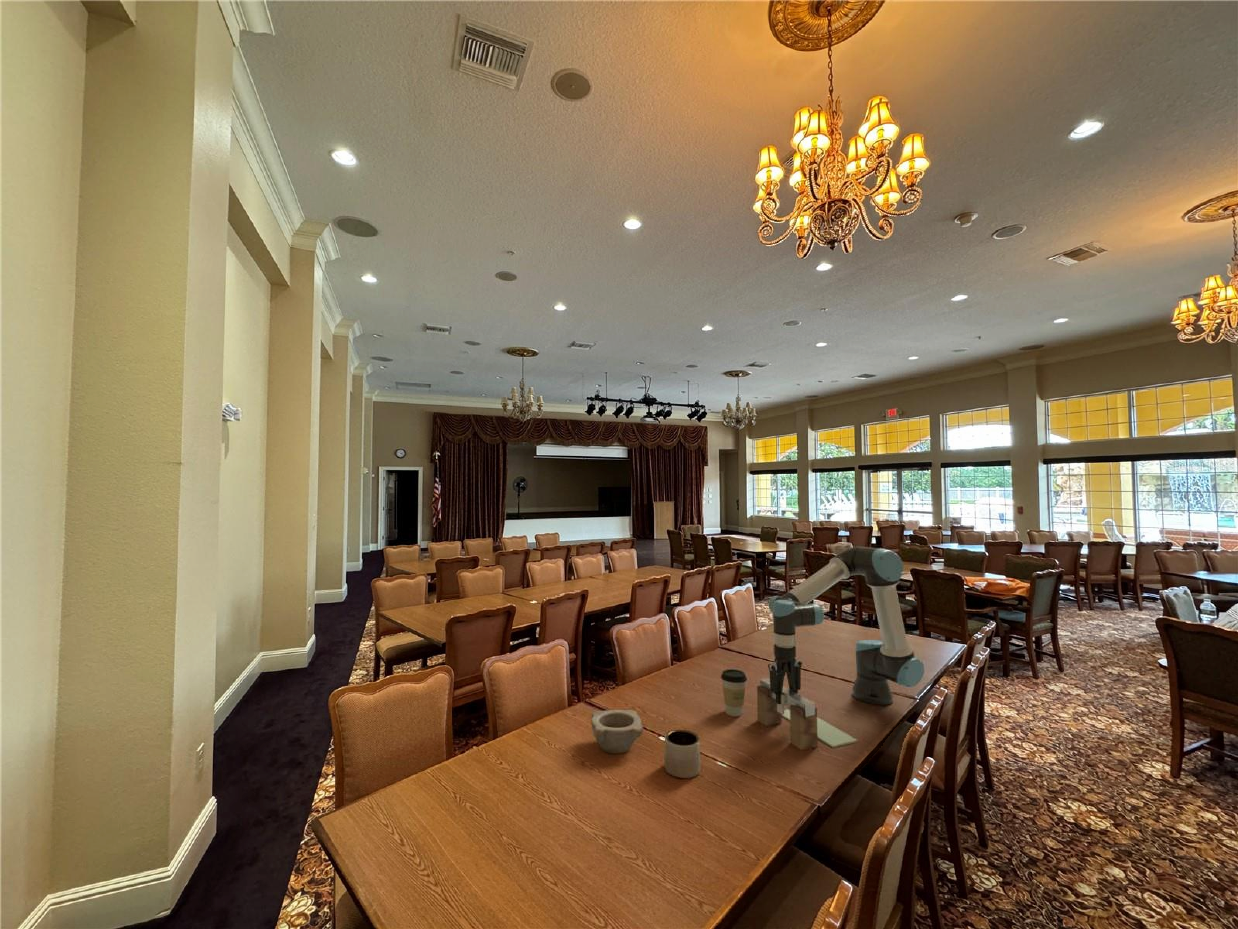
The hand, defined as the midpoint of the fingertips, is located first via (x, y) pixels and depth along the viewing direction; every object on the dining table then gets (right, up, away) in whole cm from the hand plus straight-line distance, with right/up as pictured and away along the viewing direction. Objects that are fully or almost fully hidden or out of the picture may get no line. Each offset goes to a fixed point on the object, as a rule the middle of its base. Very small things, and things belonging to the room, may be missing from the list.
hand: (786, 711), depth 174 cm
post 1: (-4, -8, +8) cm, 11 cm away
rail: (0, +3, 0) cm, 3 cm away
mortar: (-61, -6, -11) cm, 62 cm away
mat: (+12, -8, +4) cm, 15 cm away
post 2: (+3, -7, -9) cm, 11 cm away
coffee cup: (-15, -8, +15) cm, 23 cm away
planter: (-40, -6, -25) cm, 48 cm away
